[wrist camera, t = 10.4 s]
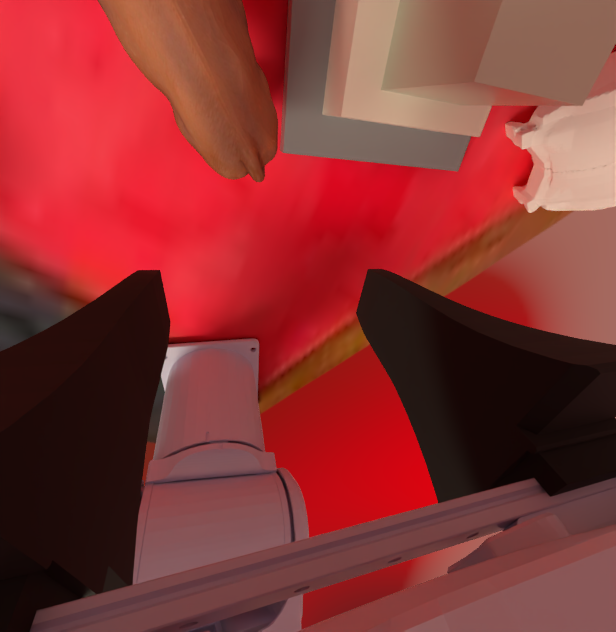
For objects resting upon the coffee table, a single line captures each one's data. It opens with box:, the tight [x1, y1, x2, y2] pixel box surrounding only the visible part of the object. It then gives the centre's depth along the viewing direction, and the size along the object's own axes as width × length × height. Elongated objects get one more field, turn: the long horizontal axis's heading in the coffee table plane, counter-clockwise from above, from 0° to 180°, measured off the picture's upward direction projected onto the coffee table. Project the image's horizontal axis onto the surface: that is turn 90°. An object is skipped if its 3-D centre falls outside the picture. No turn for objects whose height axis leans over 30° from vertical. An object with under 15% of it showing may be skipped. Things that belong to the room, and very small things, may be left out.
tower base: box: [280, 0, 492, 171], centre depth 13 cm, size 13×12×4 cm
